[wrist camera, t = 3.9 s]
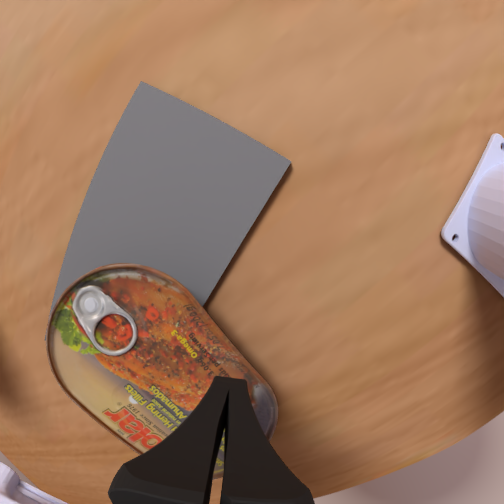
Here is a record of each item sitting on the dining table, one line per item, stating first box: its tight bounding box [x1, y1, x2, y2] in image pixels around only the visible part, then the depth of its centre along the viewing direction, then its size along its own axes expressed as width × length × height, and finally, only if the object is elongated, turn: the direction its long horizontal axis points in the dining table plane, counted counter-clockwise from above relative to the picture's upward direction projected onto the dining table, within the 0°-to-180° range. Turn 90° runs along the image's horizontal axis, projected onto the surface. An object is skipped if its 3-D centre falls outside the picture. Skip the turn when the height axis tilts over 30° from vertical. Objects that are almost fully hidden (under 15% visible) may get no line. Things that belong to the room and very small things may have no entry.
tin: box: [46, 263, 278, 479], centre depth 16 cm, size 15×3×8 cm
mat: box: [45, 81, 291, 341], centre depth 17 cm, size 9×19×1 cm, turn 149°
